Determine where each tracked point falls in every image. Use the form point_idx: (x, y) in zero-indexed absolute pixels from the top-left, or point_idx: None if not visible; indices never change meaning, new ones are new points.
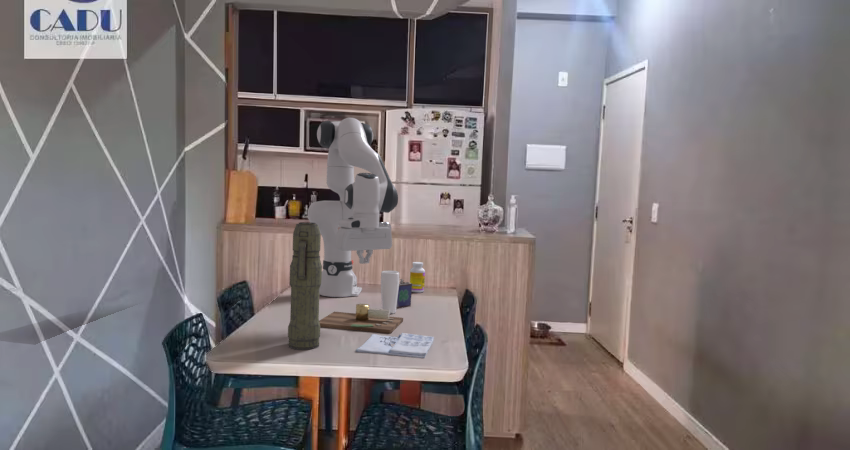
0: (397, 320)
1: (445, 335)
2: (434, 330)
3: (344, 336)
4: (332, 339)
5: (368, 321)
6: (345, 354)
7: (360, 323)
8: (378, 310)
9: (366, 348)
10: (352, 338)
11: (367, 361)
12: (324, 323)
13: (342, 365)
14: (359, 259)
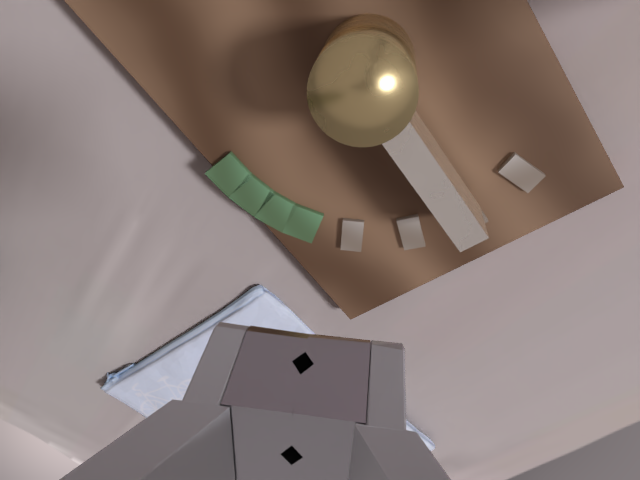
0: (530, 216)
1: (526, 433)
2: (564, 375)
3: (137, 229)
4: (70, 235)
5: None
6: (61, 379)
7: (291, 148)
8: (422, 196)
9: (136, 398)
10: (158, 269)
11: (101, 444)
12: (86, 21)
13: (24, 429)
14: (197, 371)
